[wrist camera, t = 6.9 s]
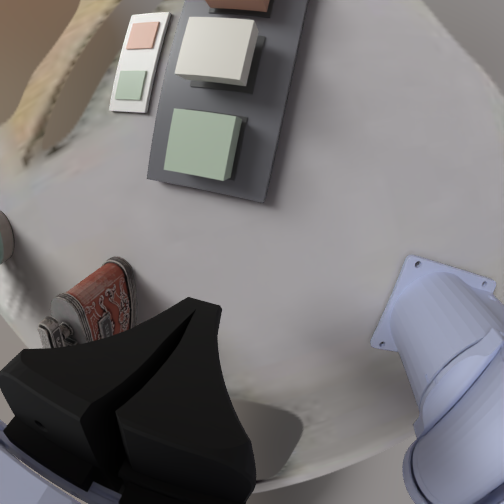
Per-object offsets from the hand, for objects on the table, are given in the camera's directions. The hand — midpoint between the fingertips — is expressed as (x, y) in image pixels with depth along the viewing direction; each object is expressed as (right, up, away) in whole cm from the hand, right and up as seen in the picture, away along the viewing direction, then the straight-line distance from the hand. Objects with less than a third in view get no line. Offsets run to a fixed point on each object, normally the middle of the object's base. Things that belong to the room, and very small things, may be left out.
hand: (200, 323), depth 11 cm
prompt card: (-6, +16, +6) cm, 19 cm away
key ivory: (0, +14, +3) cm, 14 cm away
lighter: (-10, -1, +14) cm, 17 cm away
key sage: (-1, +9, +6) cm, 11 cm away
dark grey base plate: (+1, +15, +6) cm, 16 cm away
